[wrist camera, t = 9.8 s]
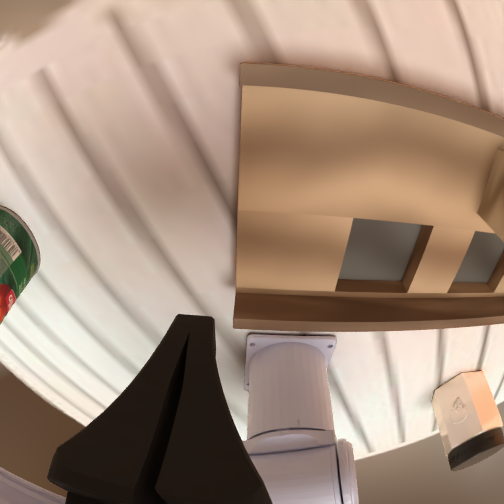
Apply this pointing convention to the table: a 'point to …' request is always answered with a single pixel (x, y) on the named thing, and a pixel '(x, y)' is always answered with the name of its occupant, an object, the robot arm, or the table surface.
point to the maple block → (494, 197)
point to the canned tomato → (15, 258)
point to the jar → (467, 420)
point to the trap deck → (362, 205)
